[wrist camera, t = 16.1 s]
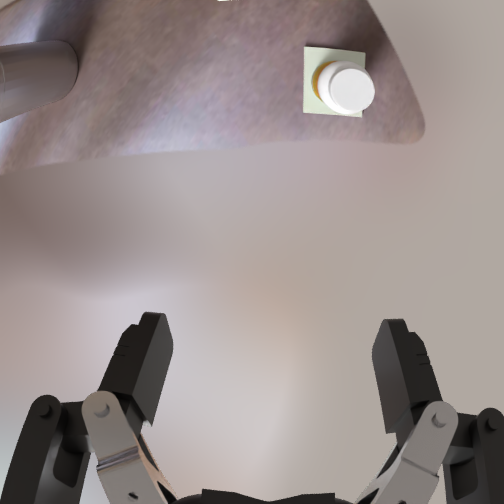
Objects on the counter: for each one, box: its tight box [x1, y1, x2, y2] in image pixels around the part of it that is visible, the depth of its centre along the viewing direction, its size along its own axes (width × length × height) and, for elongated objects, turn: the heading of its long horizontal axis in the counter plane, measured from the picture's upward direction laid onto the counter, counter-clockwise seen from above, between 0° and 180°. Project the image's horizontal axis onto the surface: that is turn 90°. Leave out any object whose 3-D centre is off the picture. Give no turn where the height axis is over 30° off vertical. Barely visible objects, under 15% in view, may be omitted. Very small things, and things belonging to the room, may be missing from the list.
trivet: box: [303, 47, 365, 117], centre depth 32 cm, size 7×8×1 cm
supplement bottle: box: [311, 61, 375, 114], centre depth 27 cm, size 5×5×10 cm
